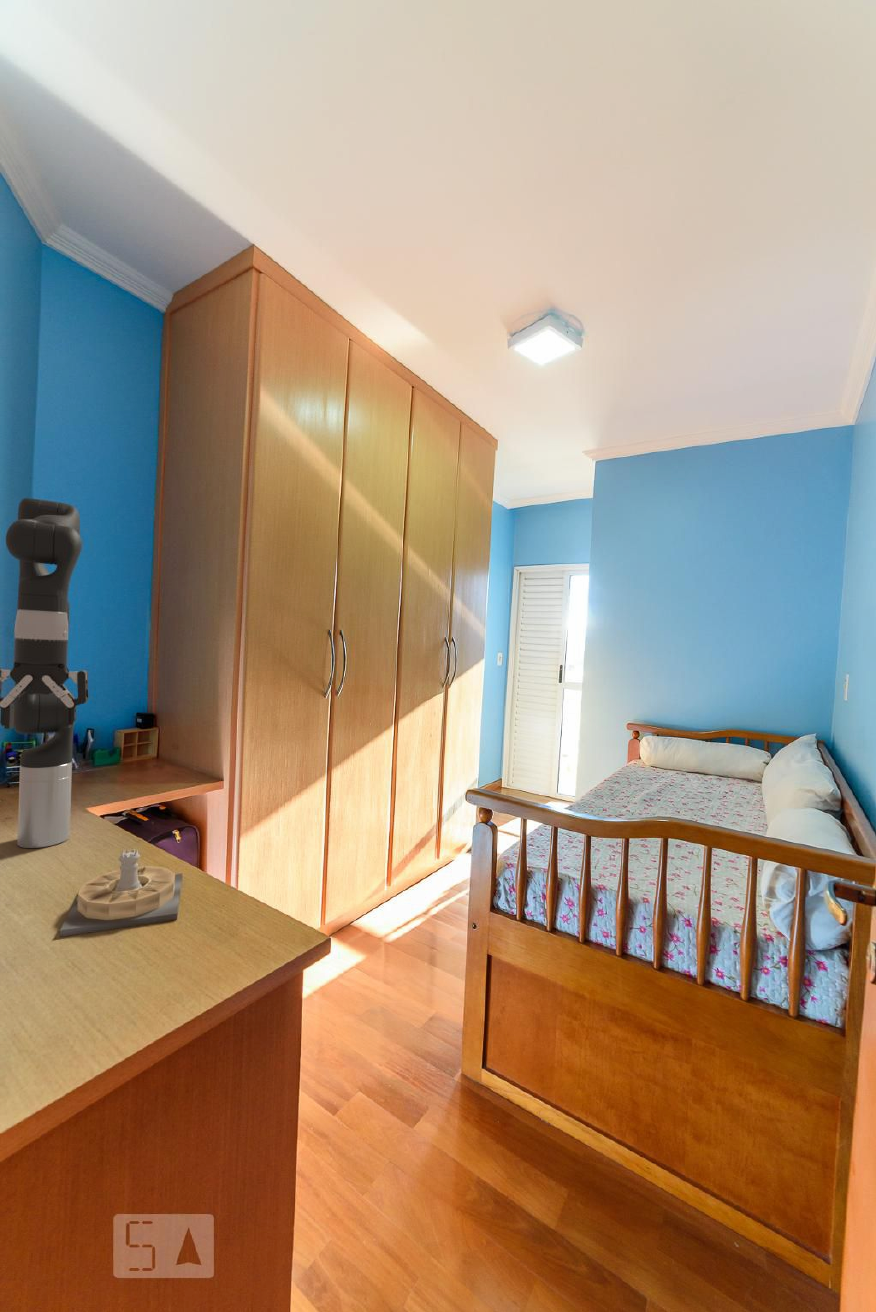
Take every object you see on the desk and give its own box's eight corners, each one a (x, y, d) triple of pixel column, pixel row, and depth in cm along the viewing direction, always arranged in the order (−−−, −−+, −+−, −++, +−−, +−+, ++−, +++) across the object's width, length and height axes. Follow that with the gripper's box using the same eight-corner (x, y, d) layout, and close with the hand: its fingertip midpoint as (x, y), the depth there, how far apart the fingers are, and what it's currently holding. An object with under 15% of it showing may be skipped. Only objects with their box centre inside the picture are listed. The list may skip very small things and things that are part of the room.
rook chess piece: (129, 906, 87) (131, 858, 87) (106, 902, 88) (107, 855, 88) (148, 894, 92) (150, 848, 92) (126, 890, 93) (128, 846, 93)
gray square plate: (83, 890, 94) (84, 870, 94) (182, 878, 101) (183, 859, 101) (59, 936, 80) (60, 913, 80) (177, 919, 86) (177, 897, 86)
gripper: (93, 638, 99) (90, 724, 99) (-1, 634, 93) (-4, 725, 94) (85, 639, 92) (81, 731, 92) (-18, 634, 86) (-21, 732, 87)
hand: (38, 728), depth 93 cm, fingers open, 8 cm apart
